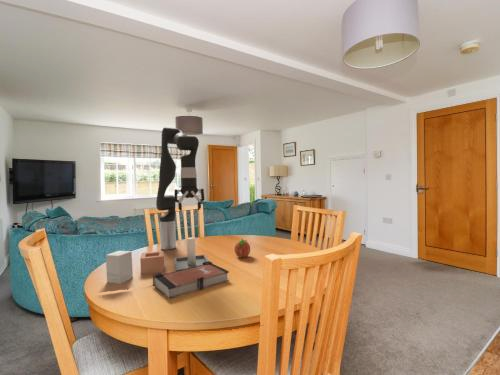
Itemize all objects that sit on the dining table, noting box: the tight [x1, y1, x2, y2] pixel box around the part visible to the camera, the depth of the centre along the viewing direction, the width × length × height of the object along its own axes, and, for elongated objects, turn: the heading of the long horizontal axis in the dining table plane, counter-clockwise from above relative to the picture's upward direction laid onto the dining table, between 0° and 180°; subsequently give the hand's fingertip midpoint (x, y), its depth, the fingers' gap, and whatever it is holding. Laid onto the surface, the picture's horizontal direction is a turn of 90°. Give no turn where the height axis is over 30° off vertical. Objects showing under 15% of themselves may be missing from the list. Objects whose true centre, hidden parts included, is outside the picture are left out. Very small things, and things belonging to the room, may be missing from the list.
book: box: [152, 260, 230, 300], centre depth 113 cm, size 26×18×5 cm
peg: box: [186, 237, 197, 266], centre depth 134 cm, size 4×4×13 cm
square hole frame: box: [139, 250, 165, 275], centre depth 129 cm, size 10×10×8 cm
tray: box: [173, 254, 209, 271], centre depth 135 cm, size 20×16×2 cm
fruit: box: [234, 238, 251, 259], centre depth 149 cm, size 9×10×10 cm
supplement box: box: [105, 250, 134, 285], centre depth 116 cm, size 7×7×13 cm
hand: (189, 210), depth 134 cm, fingers open, 8 cm apart
